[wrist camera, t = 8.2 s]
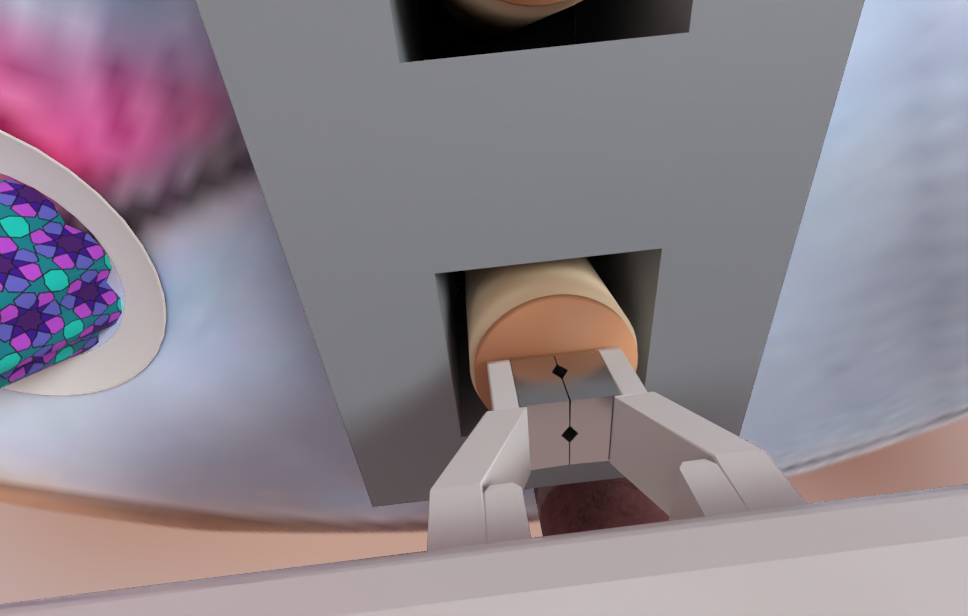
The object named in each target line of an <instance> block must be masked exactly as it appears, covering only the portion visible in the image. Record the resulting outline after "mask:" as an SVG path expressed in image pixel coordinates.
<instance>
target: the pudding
mask: <svg viewBox="0 0 968 616" xmlns="http://www.w3.org/2000/svg"><path fill="white" fill-rule="evenodd" d="M0 173H1V174H4V175H7V176H10V177H12V178H14V179H16V180H18V181H20V182H23V183H25V184H27V185H29V186H31V187H33V188H35V189H36V190H38V191H40V192H41V193H43V194H45V195H46V196H48V197H49V198H51V199H53V200H54V201H56V202H57V203H58V204H60V205H61V206H62V207H64V208H65V209H66V210H67V211H69V212H70V213H71V214H73V215H74V216H75V217H76V218H77V219H78V220H79V221H80V222H81V223H82V224H83V225H84V226H85V227H86V228H87V229H88V230H89V231H90V232H91V233H92V234H93V235H94V236H95V237H96V239H97V240H98V241H99V242H100V244H101V245H102V246H103V247H104V249H105V250H106V251H107V253H108V255H109V257H110V258H111V260H112V262H113V263H114V265H115V267H116V269H117V272H118V275H119V277H120V280H121V282H122V286H123V292H124V298H125V302H124V314H123V317H122V320H121V323H120V326H119V328H118V329H117V330H116V332H115V333H114V335H113V336H112V337H111V338H110V339H109V340H108V341H107V342H105V343H104V344H103V345H102V346H100V347H98V348H96V349H94V350H92V351H90V352H87V353H83V352H85V351H87V350H89V349H90V348H92V347H93V346H94V345H96V344H97V343H99V341H98V331H100V330H103V329H105V328H107V327H110V326H112V325H114V324H116V322H117V320H118V318H119V316H120V315H121V313H122V311H121V301H120V297H119V296H118V295H117V294H116V293H115V292H114V291H113V289H112V288H111V287H110V286H109V285H108V284H107V283H106V281H107V279H108V276H109V274H110V271H111V268H112V267H111V265H110V262H109V260H108V258H107V256H106V253H105V251H104V250H103V249H102V248H101V247H100V246H99V245H98V244H97V242H96V241H95V240H94V239H93V238H92V237H91V236H90V235H89V234H86V233H84V232H82V231H79V230H77V229H75V228H72V227H70V226H68V225H65V223H64V221H63V219H62V217H61V216H60V214H59V212H58V210H57V209H56V207H55V205H54V204H53V203H52V202H51V201H49V200H48V199H47V198H45V197H44V196H42V195H41V194H40V193H38V192H37V191H35V190H34V189H32V188H30V187H27V186H25V185H22V184H19V183H17V182H14V181H12V180H3V181H0V389H1V388H3V389H7V390H11V391H15V392H21V393H29V394H37V395H44V396H74V395H82V394H91V393H96V392H100V391H103V390H107V389H110V388H114V387H116V386H118V385H120V384H122V383H124V382H126V381H128V380H130V379H132V378H133V377H135V376H136V375H137V374H138V373H140V372H141V371H142V370H143V369H145V368H146V367H147V366H148V364H149V363H150V362H151V360H152V359H153V358H154V356H155V355H156V354H157V352H158V350H159V347H160V345H161V342H162V340H163V337H164V333H165V325H166V317H167V316H166V307H165V298H164V293H163V290H162V286H161V283H160V280H159V277H158V274H157V271H156V269H155V267H154V265H153V263H152V261H151V260H150V258H149V256H148V254H147V252H146V250H145V248H144V246H143V245H142V243H141V242H140V241H139V239H138V238H137V237H136V235H135V234H134V233H133V231H132V230H131V228H130V227H129V226H128V224H127V223H126V222H125V220H124V219H123V218H122V217H121V216H120V215H119V214H118V213H117V212H116V211H115V210H114V209H113V208H112V207H111V206H110V205H109V204H108V202H107V201H106V200H105V199H104V198H103V197H102V196H101V195H100V194H99V193H97V192H96V191H95V190H94V189H93V188H91V187H90V186H89V185H88V184H87V183H85V182H84V181H83V180H82V179H80V178H79V177H78V176H77V175H76V174H74V173H73V172H72V171H71V170H69V169H68V168H66V167H65V166H63V165H62V164H60V163H59V162H57V161H56V160H54V159H52V158H51V157H49V156H48V155H46V154H45V153H43V152H42V151H40V150H39V149H37V148H35V147H33V146H31V145H29V144H27V143H25V142H23V141H21V140H19V139H17V138H15V137H13V136H11V135H9V134H7V133H6V132H4V131H2V130H0ZM80 353H83V354H80ZM78 354H80V355H78Z"/></svg>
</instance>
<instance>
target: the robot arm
mask: <svg viewBox="0 0 968 616" xmlns="http://www.w3.org/2000/svg"><path fill="white" fill-rule="evenodd" d="M487 370H488V379H489V388H490V397H491V406H492V411H487V412H486V413H485V414H484V415H483V417H482V418H481V420H480V421H479V422H478V424H477V425H476V427H475V428H474V429H473V431H472V432H471V434H470V435H469V436H468V438H467V439H466V441H465V442H464V443H463V445H462V446H461V448H460V449H459V450H458V452H457V453H456V455H455V456H454V457H453V459H452V460H451V462H450V463H449V464H448V466H447V467H446V469H445V470H444V471H443V473H442V474H441V476H440V477H439V478H438V480H437V481H436V483H435V484H434V485H433V487H432V488H431V490H430V500H429V520H428V540H427V551H424V552H414V553H406V554H398V555H390V556H383V557H374V558H366V559H359V560H350V561H342V562H335V563H326V564H318V565H311V566H302V567H294V568H286V569H278V570H270V571H262V572H254V573H246V574H237V575H229V576H222V577H213V578H205V579H198V580H190V581H182V582H173V583H166V584H158V585H149V586H141V587H134V588H126V589H118V590H109V591H102V592H93V593H85V594H77V595H70V596H61V597H54V598H45V599H37V600H29V601H21V602H13V603H5V604H0V616H968V484H963V485H956V486H947V487H939V488H930V489H922V490H915V491H906V492H898V493H891V494H882V495H874V496H866V497H858V498H850V499H842V500H834V501H825V502H817V503H809V504H807V503H806V501H805V500H804V499H803V498H802V497H801V495H800V494H799V493H798V492H797V490H796V489H795V488H794V487H793V485H792V484H791V483H790V482H789V480H788V479H787V478H786V477H785V475H784V474H783V473H782V472H781V470H780V469H779V468H778V467H777V465H776V464H775V463H774V462H773V460H772V459H771V458H770V457H769V455H768V454H767V453H766V452H765V451H764V450H763V449H761V448H759V447H757V446H755V445H753V444H752V443H750V442H748V441H746V440H744V439H742V438H740V437H738V436H737V435H735V434H733V433H731V432H729V431H727V430H725V429H723V428H722V427H720V426H718V425H716V424H714V423H712V422H710V421H708V420H707V419H705V418H703V417H701V416H699V415H697V414H695V413H693V412H692V411H690V410H688V409H686V408H684V407H682V406H680V405H679V404H677V403H675V402H673V401H671V400H669V399H667V398H665V397H664V396H662V395H660V394H658V393H656V392H647V390H646V389H645V387H644V386H643V384H642V382H641V381H640V379H639V377H638V376H637V374H636V372H635V371H634V369H633V367H632V366H631V364H630V363H629V361H628V359H627V358H626V356H625V354H624V353H623V351H622V349H621V348H619V347H618V346H616V347H609V348H602V349H596V350H594V351H585V352H577V353H569V354H561V355H553V356H552V355H549V356H539V357H528V358H518V359H509V360H500V361H491V362H487ZM601 461H609V463H610V464H611V465H613V466H614V467H615V468H616V469H617V470H618V471H619V472H620V473H622V474H623V475H624V476H625V477H626V478H627V479H628V480H629V481H631V482H632V483H633V484H634V485H635V486H636V487H637V488H638V489H639V490H641V491H642V492H643V493H644V494H645V495H646V496H647V497H648V498H650V499H651V500H652V501H653V502H654V503H655V504H656V505H657V506H658V507H660V508H661V509H662V510H663V511H664V512H665V513H666V514H667V515H669V521H664V522H656V523H648V524H640V525H632V526H624V527H616V528H608V529H600V530H592V531H584V532H575V533H567V534H559V535H551V536H543V537H535V538H531V535H530V529H529V524H528V518H527V513H526V507H525V502H524V496H523V490H524V488H525V485H526V483H527V481H528V478H529V476H530V473H531V470H536V469H542V468H549V467H556V466H562V465H569V462H570V464H580V463H590V462H601Z"/></svg>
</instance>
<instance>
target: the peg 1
mask: <svg viewBox="0 0 968 616" xmlns="http://www.w3.org/2000/svg"><path fill="white" fill-rule="evenodd" d="M580 1H582V0H441V2H442V3H443V5H444V6H445V7H446V9H447V10H448V11H449V12H450V13H451V14H452V15H453V16H454V17H455V18H456V19H457V20H458V21H459V22H461V23H462V24H464V25H465V26H467V27H469V28H471V29H473V30H475V31H479V32H482V33H488V34H502V33H508V32H511V31H514V30H517V29H519V28H522V27H524V26H526V25H528V24H531V23H533V22H535V21H538V20H540V19H542V18H545V17H547V16H549V15H552V14H554V13H556V12H559V11H561V10H563V9H566V8H568V7H570V6H573V5H575V4H576V3H578V2H580Z"/></svg>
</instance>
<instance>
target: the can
mask: <svg viewBox="0 0 968 616" xmlns="http://www.w3.org/2000/svg"><path fill="white" fill-rule="evenodd" d="M534 493H535V498H536V503H537V508H538V514H539V519H540V524H541V529H542V534H543V536H551V535H559V534H567V533H575V532H584V531H592V530H600V529H608V528H616V527H624V526H632V525H640V524H648V523H656V522H664V521H669V515H667V514H666V513H665V512H664V511H663V510H662V509H661V508H660V507H658V506H657V505H656V504H655V503H654V502H653V501H652V500H651V499H650V498H648V497H647V496H646V495H645V494H644V493H643V492H642V491H641V490H639V489H638V488H637V487H636V486H635V485H634V484H633V483H632V482H631V481H629V480H628V479H627V478H626V477H623V478H614V479H606V480H597V481H589V482H580V483H571V484H563V485H554V486H546V487H537V488H534Z"/></svg>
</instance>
